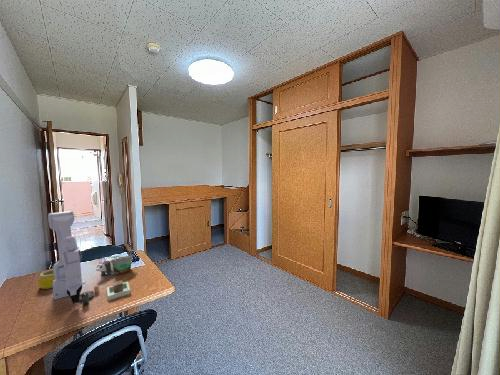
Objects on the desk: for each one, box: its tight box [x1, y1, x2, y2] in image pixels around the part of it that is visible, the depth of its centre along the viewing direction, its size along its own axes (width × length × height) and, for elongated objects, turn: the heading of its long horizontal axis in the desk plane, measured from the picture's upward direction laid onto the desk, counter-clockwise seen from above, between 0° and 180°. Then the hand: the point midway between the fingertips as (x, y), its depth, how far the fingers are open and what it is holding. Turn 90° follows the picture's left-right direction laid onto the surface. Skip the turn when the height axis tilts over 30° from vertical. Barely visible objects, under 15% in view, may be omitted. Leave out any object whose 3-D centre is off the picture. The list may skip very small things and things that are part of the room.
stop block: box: [112, 279, 124, 293], centre depth 115 cm, size 4×4×5 cm
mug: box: [38, 268, 56, 290], centre depth 123 cm, size 13×11×12 cm
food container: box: [111, 253, 133, 276], centre depth 137 cm, size 12×6×10 cm, turn 143°
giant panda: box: [95, 257, 117, 277], centre depth 135 cm, size 15×6×10 cm, turn 174°
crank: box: [79, 290, 95, 306], centre depth 109 cm, size 12×6×5 cm, turn 36°
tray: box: [106, 281, 131, 301], centre depth 115 cm, size 10×10×2 cm
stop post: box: [93, 284, 100, 295], centre depth 116 cm, size 2×2×4 cm
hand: (75, 302), depth 104 cm, fingers closed
